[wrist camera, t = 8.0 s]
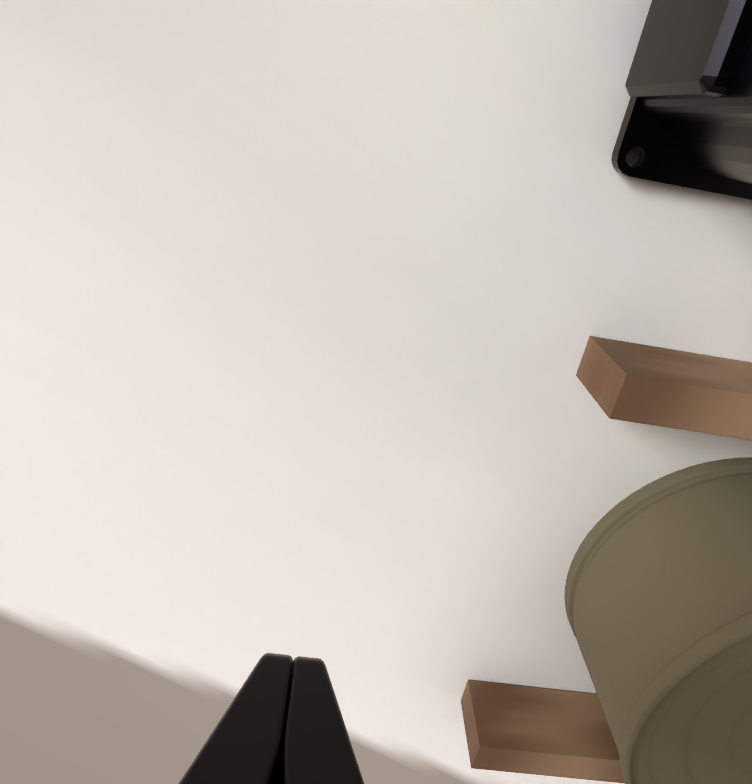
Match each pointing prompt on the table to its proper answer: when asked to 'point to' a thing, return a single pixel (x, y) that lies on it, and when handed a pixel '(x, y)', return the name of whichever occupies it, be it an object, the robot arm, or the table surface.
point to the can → (672, 624)
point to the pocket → (583, 710)
